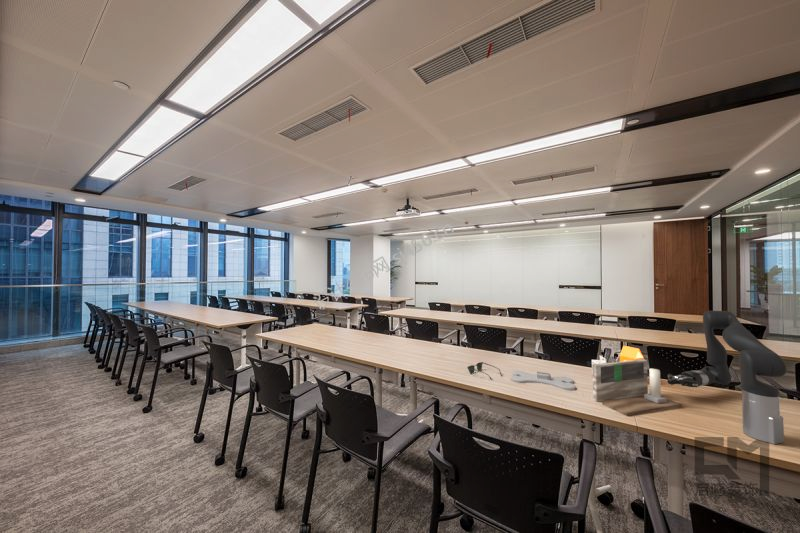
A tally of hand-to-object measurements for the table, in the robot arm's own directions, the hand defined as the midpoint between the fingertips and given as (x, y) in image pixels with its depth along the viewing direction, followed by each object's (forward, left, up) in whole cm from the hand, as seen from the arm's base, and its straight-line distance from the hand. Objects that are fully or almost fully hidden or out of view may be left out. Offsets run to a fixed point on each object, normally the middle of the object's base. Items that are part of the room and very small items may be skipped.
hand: (669, 382), depth 144 cm
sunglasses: (+58, +69, -10) cm, 91 cm away
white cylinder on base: (+2, +10, -8) cm, 13 cm away
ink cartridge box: (+30, +10, -10) cm, 33 cm away
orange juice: (+26, -10, -10) cm, 29 cm away
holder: (+40, +42, -10) cm, 59 cm away
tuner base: (+2, +19, -9) cm, 22 cm away
